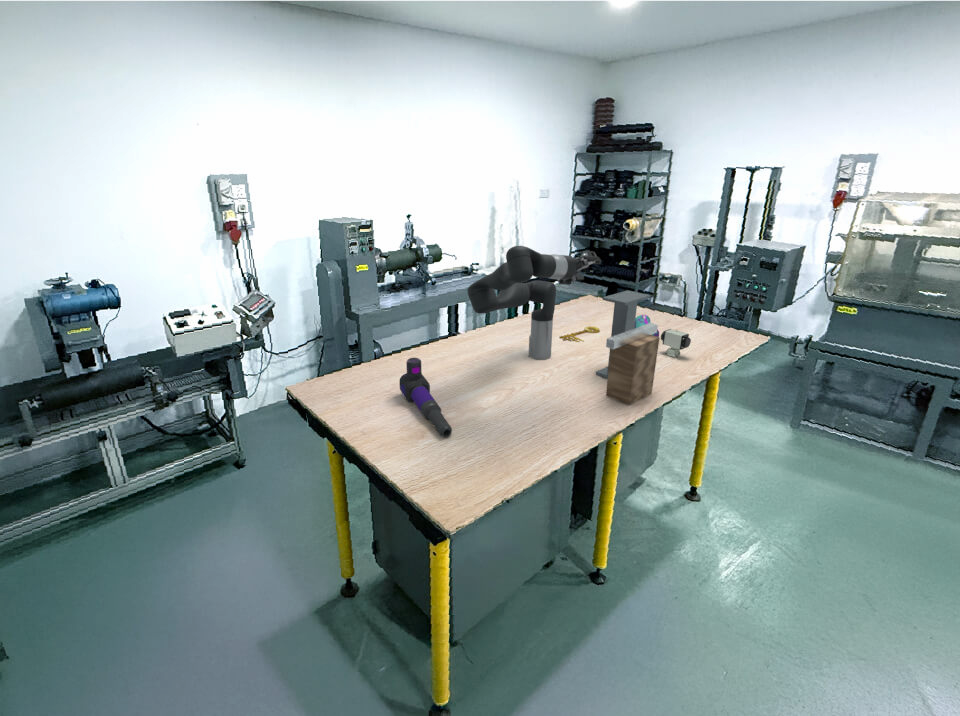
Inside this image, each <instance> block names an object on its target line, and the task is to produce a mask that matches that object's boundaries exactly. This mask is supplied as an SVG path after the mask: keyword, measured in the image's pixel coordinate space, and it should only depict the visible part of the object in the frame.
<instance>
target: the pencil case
mask: <svg viewBox="0 0 960 716" xmlns="http://www.w3.org/2000/svg"><path fill="white" fill-rule="evenodd" d="M648 323H652V322H651V317H649V315H646V314H640V315H638V316H637V315H636V318H635V326H634V329H635V328H637V327H640V326H643V325H646V324H648ZM652 335H653V336H656V337H660V331H659V329H658V328H657V333H655V334H652Z"/></svg>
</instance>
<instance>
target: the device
mask: <svg viewBox="0 0 960 716" xmlns="http://www.w3.org/2000/svg"><path fill="white" fill-rule="evenodd" d="M399 390H400V392H401V394H402V395H403V397H404V398H405V400H406V402H408V403H411V404H413V403H414V404H415V405H416V406H417V408H418V410H419V412H420V413H421V414H422V416H423V417H424V419H425V420H427V421H429V422H430V424H431V425H432V426H433V427H434V429H435V430H436V431H437V433H438V434H439V436H440V437H442V438H448V437H450V436H451V434H452V432H453V428H452V426H451V425H450V424H449V422H448V421H447V418H445V415H444V414H442V408H441V406H440V405H439V404H438V402H437V401H436V399H435V398H434V397H433V396H432V394H431V385H430V382H429V381H428V379H427V378H426V377H425V376H424V375H423V373H422V360H421V359H420V358H418V357H409V358H408V359H407V360H406V373H404V374H402V375H401V376H400V378H399Z"/></svg>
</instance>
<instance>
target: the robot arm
mask: <svg viewBox="0 0 960 716" xmlns="http://www.w3.org/2000/svg"><path fill="white" fill-rule="evenodd" d="M505 253H506V254H505V260H506V262H503V263H501V264H500V265H499V266H498V267H497V268H496V269H495V270H494V271H492V272H491V273H489V274H487V275H485V276H483V277H482V278H480V279H478V280H476V281H474V282H473V283H471V284H470V285H469V286H468V288H467V296H468V298H469V301H470V304H471V307H472V309H473V312H474V313H476V314H480V315H483V314H486V313H490V312H495V311H498V310H504V309H509V308H510V309H511V308H518V307H519V308H520V307H522V306H524V305H526V304H527V303H528V302H533V303H538V304H542V307H541V308H538V309H534V310H532V312H531V317H530V318H531V319H530V335H529V337H528V339H529V340H528V357H529V358H532V359H535V360H542V361H543V360H548V359H550V358H551V357H552V345H553V343H552V341H553V325H554V323H553V322H554V319H553V318H554V313H555V310H556V298H557V286H556V284H555V283H554V282H551V281H544V280H539V279H538V280H532V281H530V280H531V279H532V277H535V278H542V279H543V278H544V279H551V280H557V282H558V284H559V285H567V286H570V285H571V284H572V282H576V281H583V280H585V277H584V275H583V274H582V273H580V271H582V270H583V269H586V268H589V266H590V265H592V264H593V265H601V264H602V260H601V258H600V257H599V256H597V254H596V252H595V251H589V250H583V251H581V252H580V254H581V255H580V257H573V256H570V255H566V254H565V255H564V254H545V253H540V252H537V251H535V250H534V249H532V248H531V247H527V246H524V245H515V246H512V247H510V248H509V249H508V250H507V251H506V252H505ZM525 282H526V283H525ZM496 291H499V292H498V294H497V293H496Z"/></svg>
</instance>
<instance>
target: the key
mask: <svg viewBox="0 0 960 716" xmlns="http://www.w3.org/2000/svg"><path fill="white" fill-rule="evenodd" d="M600 332H601V331H600V328H599V327H597V326H594V325H589V326H586V327H584V330H579V331H577V332H571V333H570V334H569V333H568V334H565V335H561V336H559V339H562V341H563V342H564V341H565V342H566V341H568V342H575V343H580V341H581V342H582V343H583V342H585V340H584V339H581V338H580V337H578V336H579V335H583V334H586V333H589V334H598V333H600Z"/></svg>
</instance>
